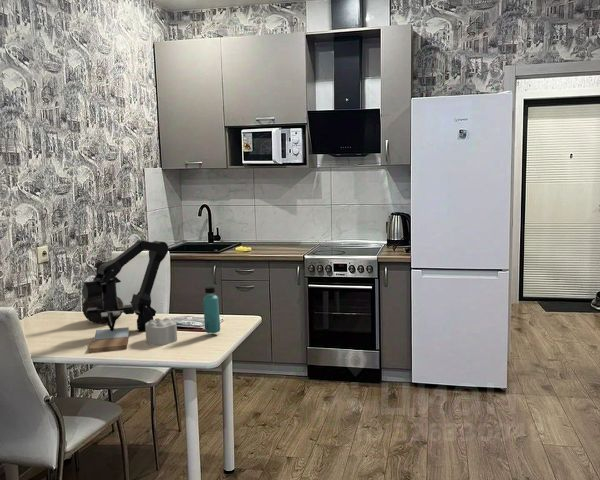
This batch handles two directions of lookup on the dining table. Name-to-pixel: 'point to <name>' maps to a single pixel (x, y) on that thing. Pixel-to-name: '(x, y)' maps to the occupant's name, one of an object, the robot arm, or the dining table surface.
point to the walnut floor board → (108, 344)
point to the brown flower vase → (98, 304)
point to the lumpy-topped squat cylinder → (161, 332)
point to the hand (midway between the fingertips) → (112, 331)
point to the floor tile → (111, 333)
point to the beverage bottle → (211, 311)
